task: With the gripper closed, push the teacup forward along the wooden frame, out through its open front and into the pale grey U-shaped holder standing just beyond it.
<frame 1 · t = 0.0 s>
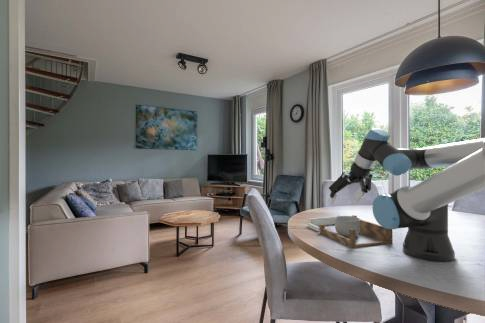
hand: (343, 201, 115), 15 cm above the table, tool tilted 35°, fingers open, 13 cm apart
wooden frame: (353, 237, 111), on the table
holder: (328, 227, 128), on the table
teacup: (345, 235, 116), on the table
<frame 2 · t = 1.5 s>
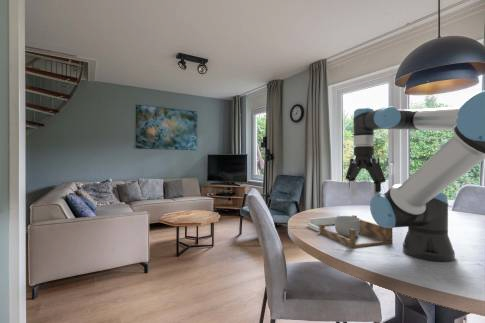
hand: (364, 197, 105), 18 cm above the table, tool pointing down, fingers open, 12 cm apart
nothing on the table moved.
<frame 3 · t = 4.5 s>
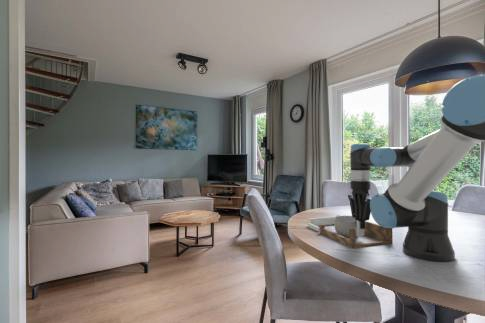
hand: (360, 235, 107), 2 cm above the table, tool pointing down, fingers closed
teacup: (345, 234, 116), on the table, touching gripper
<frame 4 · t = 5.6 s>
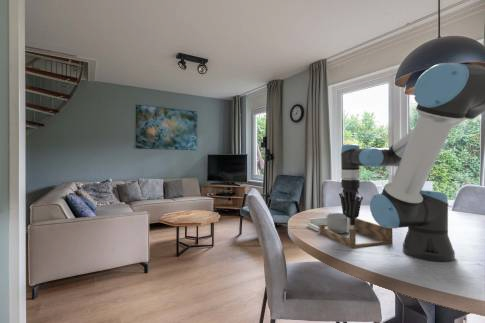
hand: (350, 231, 113), 2 cm above the table, tool pointing down, fingers closed
teacup: (337, 231, 122), on the table, touching gripper
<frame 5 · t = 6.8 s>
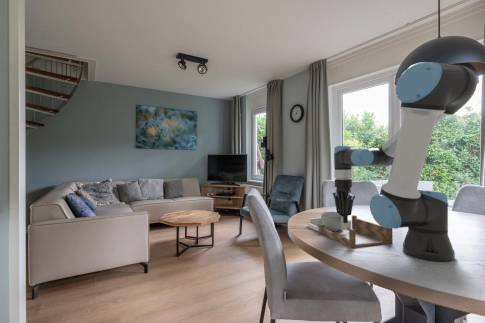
hand: (344, 229, 117), 2 cm above the table, tool pointing down, fingers closed
teacup: (331, 229, 126), on the table, touching gripper, holder
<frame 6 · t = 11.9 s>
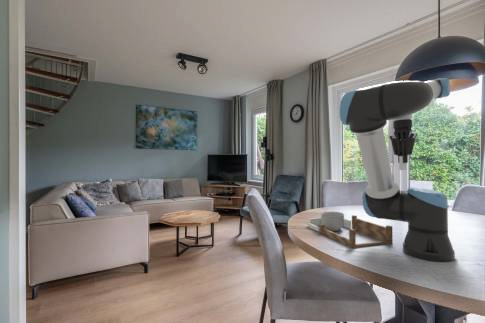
hand: (402, 169, 119), 29 cm above the table, tool pointing down, fingers closed
teacup: (331, 229, 126), on the table
at the end: teacup inside the target area (1.0 cm from its centre), on the table; teacup tilted 0°; teacup moved 10.9 cm from its start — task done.
